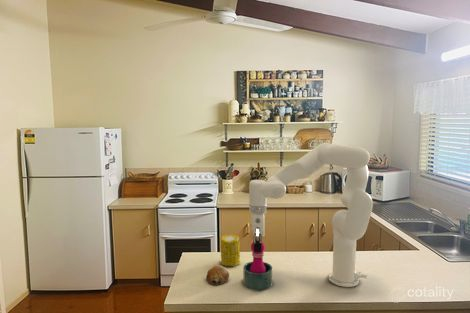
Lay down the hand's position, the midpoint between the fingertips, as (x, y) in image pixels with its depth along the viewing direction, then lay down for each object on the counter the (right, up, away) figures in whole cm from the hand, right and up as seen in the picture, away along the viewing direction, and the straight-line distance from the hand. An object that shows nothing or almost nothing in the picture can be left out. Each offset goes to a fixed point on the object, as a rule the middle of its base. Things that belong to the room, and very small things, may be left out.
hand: (257, 247), depth 139 cm
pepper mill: (0, -16, +2) cm, 16 cm away
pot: (0, -16, +2) cm, 16 cm away
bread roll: (-18, -16, +4) cm, 24 cm away
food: (-12, -14, +21) cm, 28 cm away
